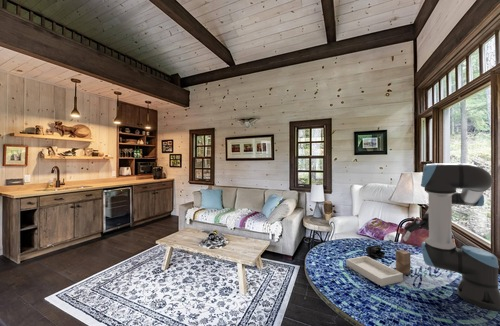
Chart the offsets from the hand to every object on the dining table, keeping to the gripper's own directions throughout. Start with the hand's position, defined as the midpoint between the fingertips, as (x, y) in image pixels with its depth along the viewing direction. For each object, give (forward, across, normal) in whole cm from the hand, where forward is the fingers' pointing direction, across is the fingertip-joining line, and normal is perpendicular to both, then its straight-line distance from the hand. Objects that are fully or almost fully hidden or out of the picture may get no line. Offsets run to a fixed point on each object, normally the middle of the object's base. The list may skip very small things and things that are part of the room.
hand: (415, 243), depth 129 cm
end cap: (+16, +22, -6) cm, 28 cm away
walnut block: (+18, 0, -3) cm, 19 cm away
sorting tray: (+31, +5, +10) cm, 33 cm away
